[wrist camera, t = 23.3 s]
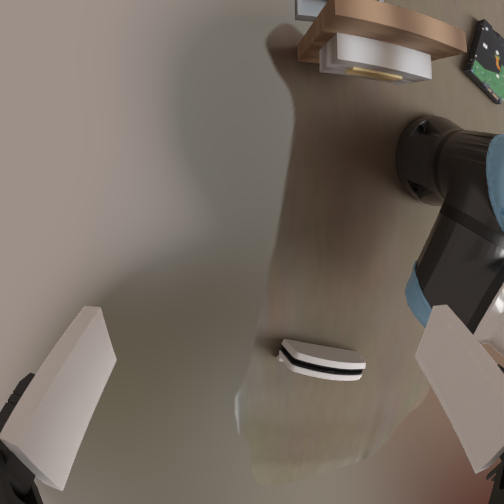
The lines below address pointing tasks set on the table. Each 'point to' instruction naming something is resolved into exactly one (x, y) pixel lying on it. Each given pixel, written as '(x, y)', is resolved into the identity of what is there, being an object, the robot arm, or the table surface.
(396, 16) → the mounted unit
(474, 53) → the disk drive
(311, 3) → the tray
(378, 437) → the table surface
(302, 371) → the white black curved block
